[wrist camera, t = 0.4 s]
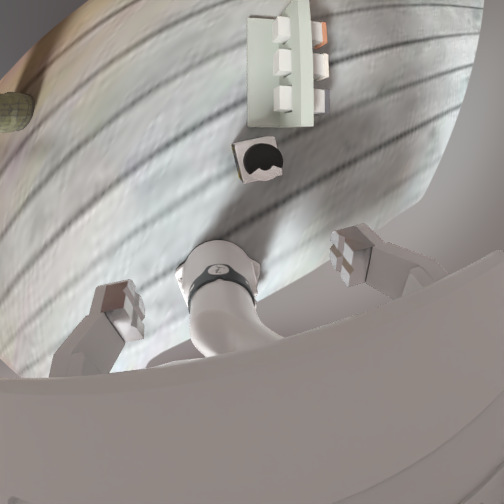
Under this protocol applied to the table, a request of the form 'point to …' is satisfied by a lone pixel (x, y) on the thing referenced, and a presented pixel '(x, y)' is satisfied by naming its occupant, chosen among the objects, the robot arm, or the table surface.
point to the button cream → (284, 65)
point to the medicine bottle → (257, 159)
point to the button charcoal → (285, 100)
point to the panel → (265, 81)
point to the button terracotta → (283, 33)
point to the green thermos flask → (15, 111)
